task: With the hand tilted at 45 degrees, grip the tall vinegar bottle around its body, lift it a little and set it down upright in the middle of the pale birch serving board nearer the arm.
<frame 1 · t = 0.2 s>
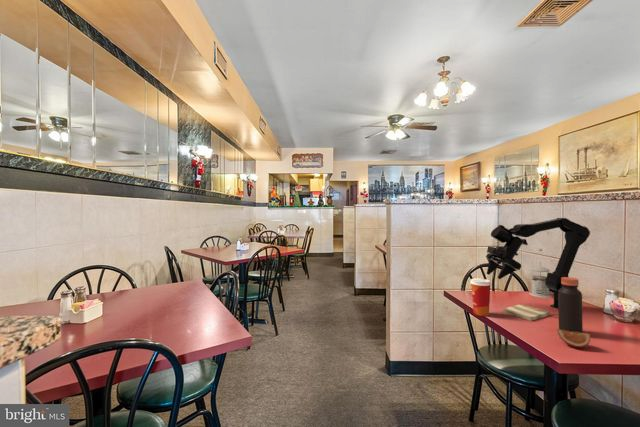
hand: (492, 276, 136), 15 cm above the table, tool tilted 35°, fingers open, 9 cm apart
fruit slice: (573, 346, 98), on the table
french press: (542, 295, 155), on the table
coffee cup: (480, 314, 129), on the table
serving board: (525, 313, 128), on the table
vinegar: (570, 332, 108), on the table
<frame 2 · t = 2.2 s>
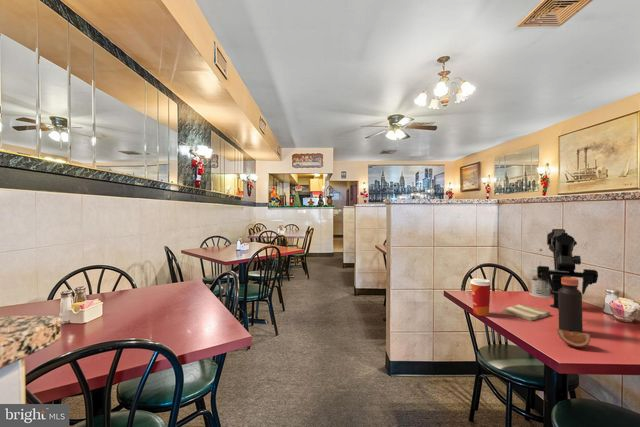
hand: (567, 292, 114), 13 cm above the table, tool tilted 45°, fingers open, 9 cm apart
nothing on the table moved.
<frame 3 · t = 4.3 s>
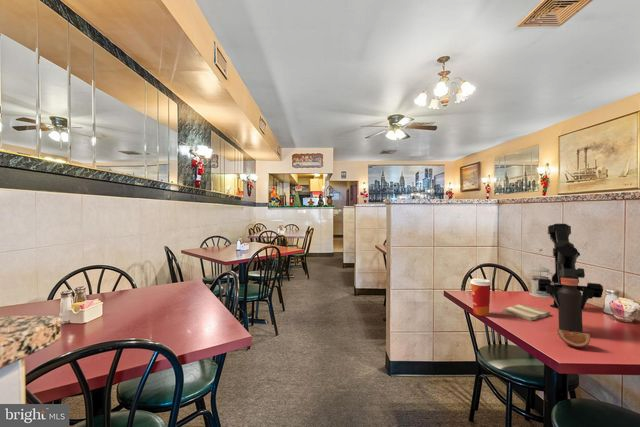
hand: (570, 307, 107), 10 cm above the table, tool tilted 45°, fingers closed on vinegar, 6 cm apart
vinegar: (570, 332, 108), on the table, touching gripper
everything else where it was.
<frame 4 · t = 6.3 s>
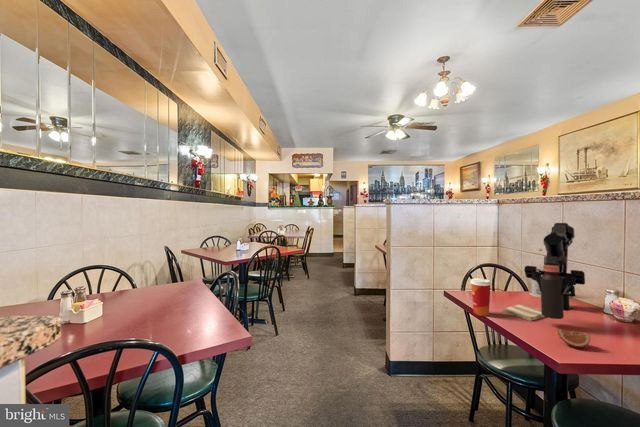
hand: (551, 292, 113), 13 cm above the table, tool tilted 45°, fingers closed on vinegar, 6 cm apart
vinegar: (552, 316, 114), point 4 cm above the table, touching gripper
everything else where it was.
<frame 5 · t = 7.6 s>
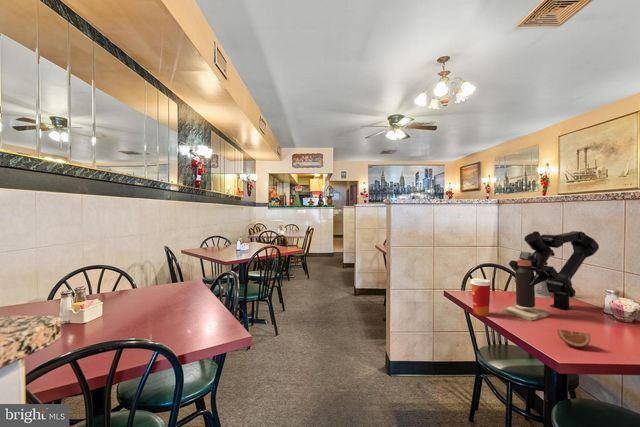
hand: (523, 284, 127), 13 cm above the table, tool tilted 45°, fingers closed on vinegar, 6 cm apart
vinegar: (525, 305, 128), point 3 cm above the table, touching gripper
everything else where it was.
when the fingers open (12 cm above the table, at t = 8.4 s): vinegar stays where it is, resting on serving board.
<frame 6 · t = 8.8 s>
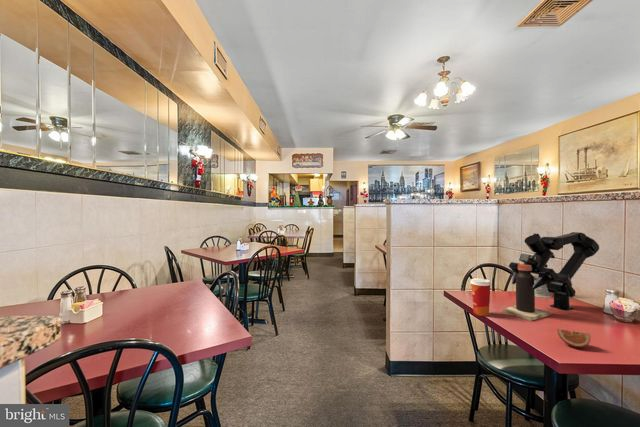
hand: (522, 286, 127), 12 cm above the table, tool tilted 45°, fingers open, 9 cm apart
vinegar: (525, 310, 128), point 1 cm above the table, touching serving board
everything else where it was.
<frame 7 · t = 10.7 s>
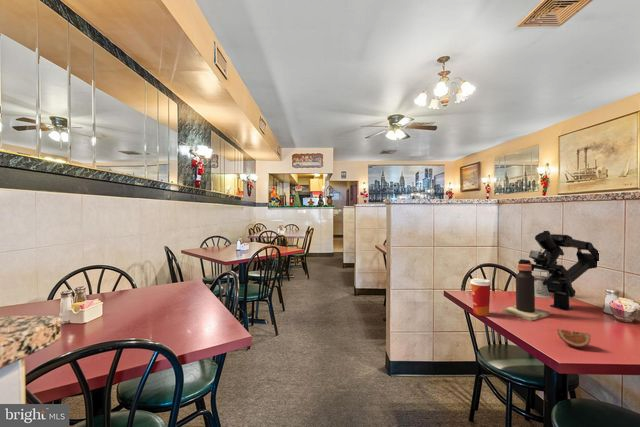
hand: (532, 282, 129), 13 cm above the table, tool tilted 45°, fingers open, 9 cm apart
nothing on the table moved.
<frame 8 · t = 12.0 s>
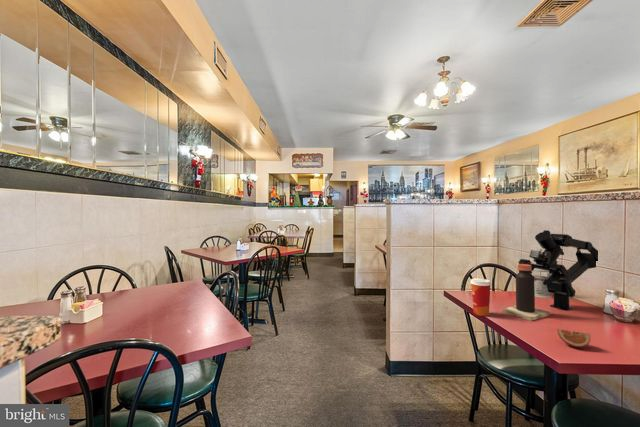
hand: (533, 282, 129), 14 cm above the table, tool tilted 45°, fingers open, 9 cm apart
nothing on the table moved.
at the end: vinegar inside the target area on the serving board (0.2 cm from its centre), point 1.3 cm above the serving board's base; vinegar tilted 0°; the gripper is holding nothing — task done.
